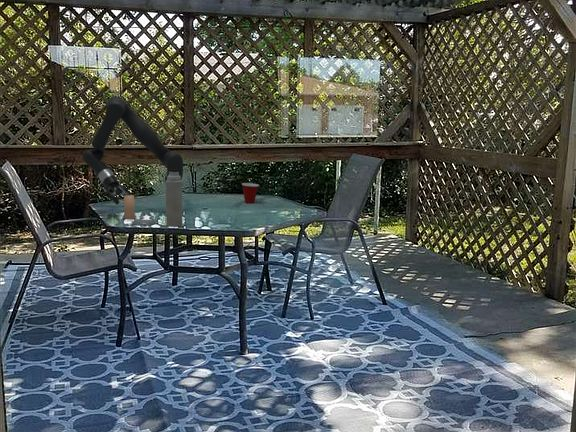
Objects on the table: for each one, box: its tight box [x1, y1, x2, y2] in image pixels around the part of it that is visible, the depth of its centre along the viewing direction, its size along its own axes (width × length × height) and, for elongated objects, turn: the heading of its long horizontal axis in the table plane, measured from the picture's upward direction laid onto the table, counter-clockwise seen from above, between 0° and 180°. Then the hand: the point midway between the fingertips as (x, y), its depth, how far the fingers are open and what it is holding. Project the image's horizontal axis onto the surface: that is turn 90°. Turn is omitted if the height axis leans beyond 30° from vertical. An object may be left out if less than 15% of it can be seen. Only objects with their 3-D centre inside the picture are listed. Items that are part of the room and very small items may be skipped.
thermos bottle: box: [165, 169, 183, 228], centre depth 307 cm, size 8×8×28 cm
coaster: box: [131, 219, 157, 226], centre depth 314 cm, size 12×12×1 cm
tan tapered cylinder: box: [123, 194, 136, 220], centre depth 324 cm, size 5×5×12 cm
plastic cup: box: [241, 182, 260, 205], centre depth 383 cm, size 11×11×12 cm
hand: (124, 202), depth 324 cm, fingers open, 8 cm apart
